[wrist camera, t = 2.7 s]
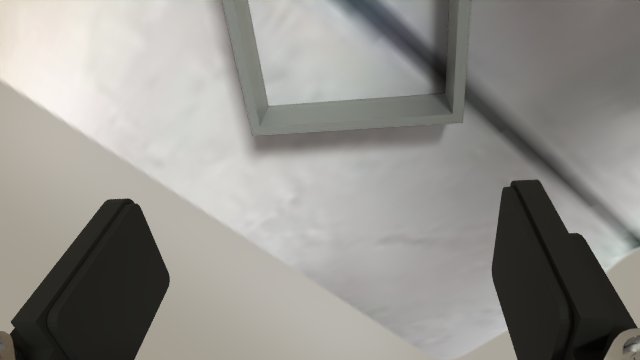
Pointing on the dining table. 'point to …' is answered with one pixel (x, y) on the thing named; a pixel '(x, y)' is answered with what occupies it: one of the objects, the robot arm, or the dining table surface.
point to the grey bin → (349, 111)
